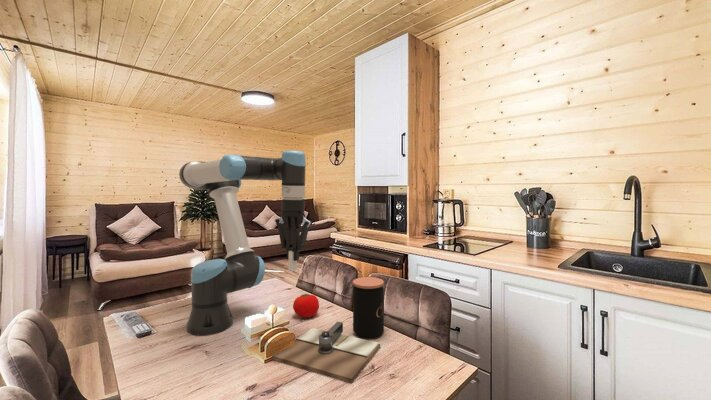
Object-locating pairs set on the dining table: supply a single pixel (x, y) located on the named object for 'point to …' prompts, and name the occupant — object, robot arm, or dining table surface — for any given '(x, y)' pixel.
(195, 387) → the dining table surface
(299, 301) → the tomato
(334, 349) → the lock board
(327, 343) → the swing bar
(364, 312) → the coffee jar
